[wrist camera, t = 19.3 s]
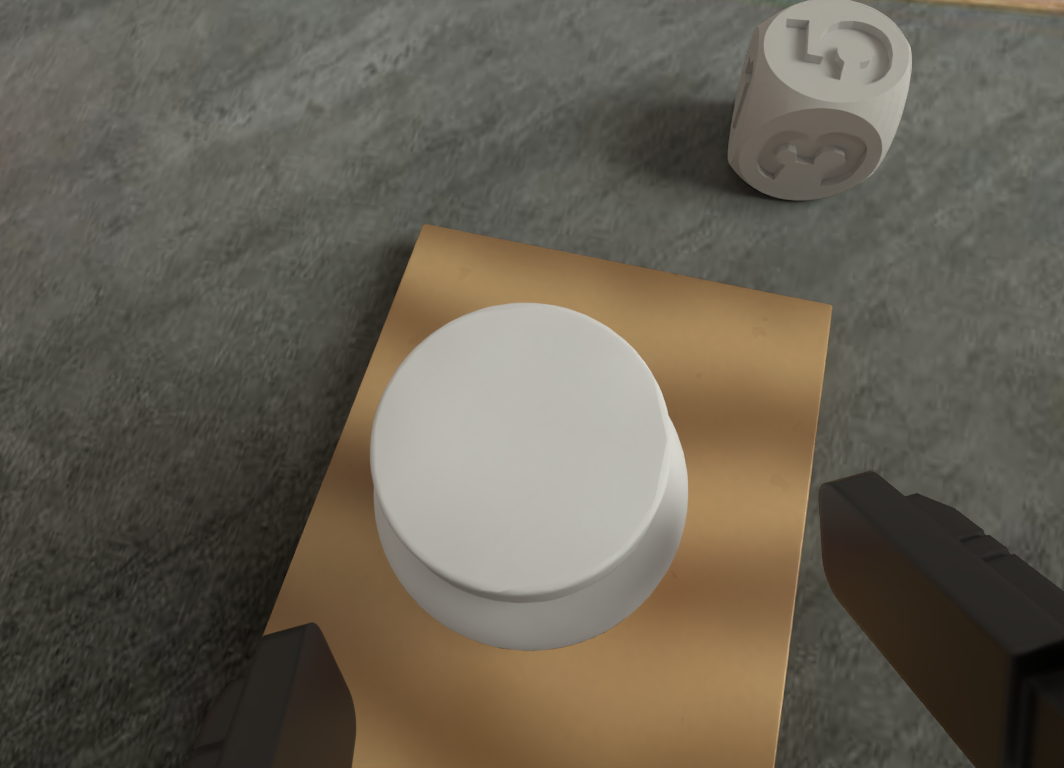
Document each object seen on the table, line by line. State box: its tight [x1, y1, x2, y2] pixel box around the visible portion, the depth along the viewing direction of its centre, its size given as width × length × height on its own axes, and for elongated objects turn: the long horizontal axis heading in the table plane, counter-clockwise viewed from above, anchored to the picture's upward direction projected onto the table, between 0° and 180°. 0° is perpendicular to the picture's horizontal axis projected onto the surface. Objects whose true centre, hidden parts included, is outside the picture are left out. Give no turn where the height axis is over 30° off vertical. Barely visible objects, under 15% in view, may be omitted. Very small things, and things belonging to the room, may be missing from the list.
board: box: [262, 224, 832, 768], centre depth 21 cm, size 20×15×2 cm
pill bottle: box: [370, 303, 688, 651], centre depth 15 cm, size 6×6×11 cm
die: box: [728, 0, 912, 200], centre depth 24 cm, size 5×5×5 cm
